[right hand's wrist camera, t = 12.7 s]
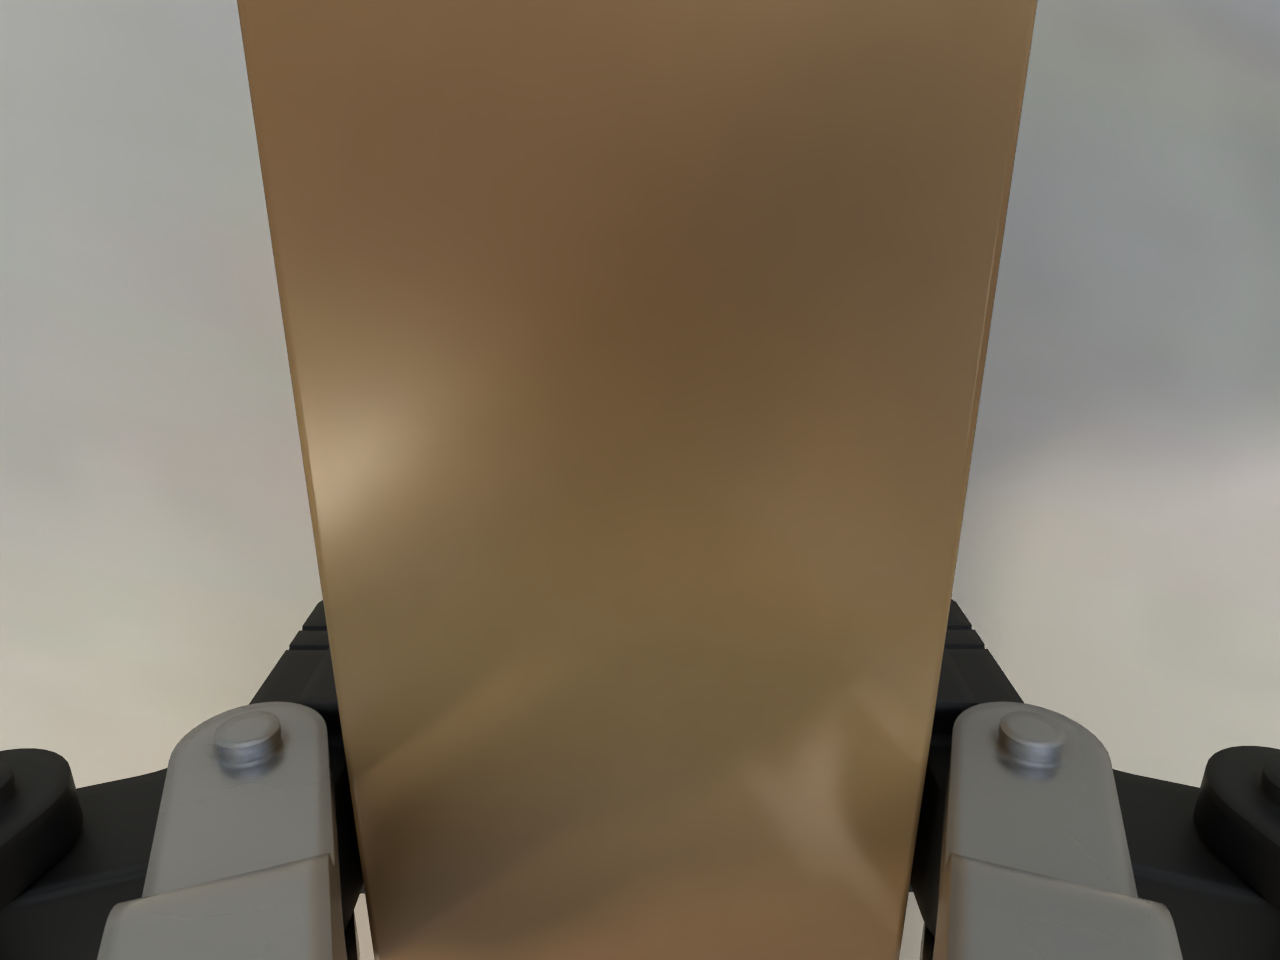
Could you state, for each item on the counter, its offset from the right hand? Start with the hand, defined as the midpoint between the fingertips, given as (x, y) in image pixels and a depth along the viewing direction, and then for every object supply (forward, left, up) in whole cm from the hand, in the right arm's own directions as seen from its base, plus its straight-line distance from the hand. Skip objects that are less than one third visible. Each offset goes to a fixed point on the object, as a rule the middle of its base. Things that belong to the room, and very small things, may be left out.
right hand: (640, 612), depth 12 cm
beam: (-22, -16, -2) cm, 27 cm away
